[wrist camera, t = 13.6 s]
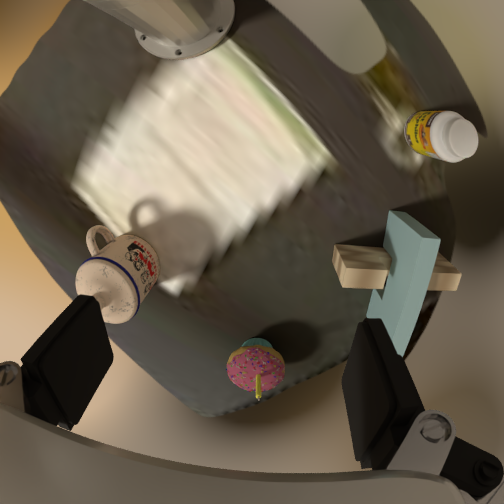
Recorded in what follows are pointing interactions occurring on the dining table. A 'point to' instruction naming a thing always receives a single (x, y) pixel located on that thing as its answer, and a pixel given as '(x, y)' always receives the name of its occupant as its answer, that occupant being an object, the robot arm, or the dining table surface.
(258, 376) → the cupcake
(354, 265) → the birch slotted plate
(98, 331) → the robot arm
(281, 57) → the dining table surface
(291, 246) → the dining table surface
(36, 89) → the dining table surface
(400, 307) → the teal slotted plate
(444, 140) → the supplement bottle
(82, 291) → the teacup with lid
